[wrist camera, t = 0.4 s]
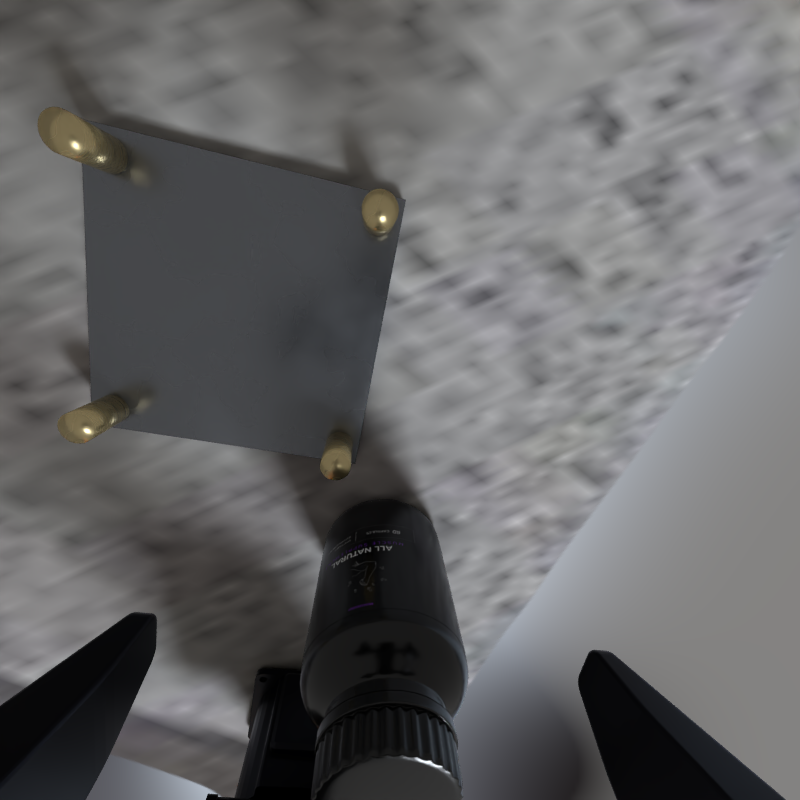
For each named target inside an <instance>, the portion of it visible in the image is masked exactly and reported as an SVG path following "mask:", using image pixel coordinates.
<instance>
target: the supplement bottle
mask: <svg viewBox="0 0 800 800" xmlns="http://www.w3.org/2000/svg"><path fill="white" fill-rule="evenodd" d="M467 684H468V666H467V660H466V655H465V650H464V646H463V641H462V637H461V633H460V629H459V624H458V620H457V616H456V612H455V607H454V603H453V599H452V594H451V590H450V586H449V582H448V577H447V573H446V569H445V565H444V560H443V556H442V552H441V548H440V544H439V540H438V537H437V534H436V531H435V529H434V527H433V525H432V523H431V522H430V520H429V519H428V518H427V517H426V516H425V515H424V514H423V513H422V512H421V511H419V510H418V509H416V508H415V507H413V506H411V505H409V504H407V503H404V502H401V501H396V500H390V499H378V500H371V501H366V502H363V503H360V504H358V505H356V506H354V507H352V508H350V509H349V510H347V511H346V512H344V513H343V514H342V515H341V516H340V517H339V518H338V519H337V520H336V521H335V523H334V524H333V525H332V527H331V529H330V531H329V533H328V536H327V539H326V542H325V547H324V551H323V556H322V561H321V567H320V572H319V577H318V582H317V588H316V593H315V598H314V603H313V609H312V614H311V619H310V624H309V630H308V635H307V640H306V645H305V651H304V656H303V661H302V668H301V676H300V691H301V696H302V701H303V704H304V707H305V710H306V712H307V714H308V716H309V718H310V720H311V721H312V723H313V724H314V726H315V727H316V728H317V729H318V731H317V736H316V744H315V753H314V754H315V766H314V774H313V782H312V791H311V800H462V798H463V788H462V777H461V771H460V765H459V759H458V753H457V750H458V740H457V734H456V729H455V725H454V722H453V720H454V718H455V717H456V715H457V714H458V712H459V710H460V708H461V705H462V703H463V701H464V698H465V694H466V690H467Z"/></svg>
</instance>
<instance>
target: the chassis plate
mask: <svg viewBox="0 0 800 800" xmlns="http://www.w3.org/2000/svg"><path fill="white" fill-rule="evenodd" d="M38 131H39V134H40V136H41V138H42V140H43V142H44V143H45V144H46V145H47V146H48V147H49V148H50V149H51V150H52V151H54V152H56V153H58V154H60V155H63V156H65V157H68V158H70V159H73V160H76V161H78V162H81V163H82V165H83V192H84V219H85V246H86V274H87V301H88V328H89V355H90V383H91V403H88V404H86V405H84V406H82V407H80V408H77V409H75V410H73V411H71V412H68V413H66V414H64V415H62V416H61V417H60V418H59V420H58V424H57V426H58V430H59V432H60V434H61V435H62V436H63V437H64V438H65V439H67V440H68V441H70V442H73V443H85V442H88V441H89V440H91V439H93V438H94V437H96V436H98V435H100V434H101V433H103V432H105V431H106V430H108V429H110V428H111V427H114V428H121V429H128V430H134V431H141V432H148V433H154V434H161V435H168V436H174V437H181V438H188V439H194V440H201V441H208V442H214V443H221V444H228V445H234V446H241V447H248V448H254V449H261V450H268V451H274V452H281V453H288V454H294V455H301V456H307V457H314V458H321V463H320V470H321V472H322V474H323V475H324V476H325V477H326V478H328V479H331V480H340V479H343V478H344V477H346V476H347V475H348V473H349V472H350V467H351V463H354V464H355V461H356V456H357V451H358V446H359V440H360V435H361V430H362V425H363V420H364V414H365V409H366V404H367V399H368V394H369V388H370V383H371V378H372V373H373V368H374V362H375V357H376V352H377V347H378V341H379V336H380V331H381V326H382V321H383V315H384V310H385V305H386V300H387V295H388V289H389V284H390V279H391V274H392V268H393V263H394V258H395V253H396V248H397V242H398V237H399V232H400V227H401V222H402V216H403V211H404V206H405V201H406V200H404V199H400V198H396V197H394V195H393V194H392V193H391V192H389V191H387V190H385V189H375V190H372V191H368V190H364V189H360V188H356V187H352V186H348V185H344V184H340V183H336V182H332V181H328V180H324V179H320V178H316V177H312V176H308V175H304V174H300V173H296V172H292V171H288V170H284V169H280V168H276V167H272V166H268V165H264V164H260V163H256V162H252V161H248V160H244V159H240V158H236V157H232V156H228V155H224V154H220V153H216V152H212V151H208V150H204V149H200V148H196V147H192V146H188V145H184V144H180V143H176V142H172V141H168V140H164V139H160V138H156V137H152V136H148V135H144V134H140V133H136V132H132V131H128V130H124V129H120V128H116V127H112V126H108V125H104V124H100V123H96V122H92V121H88V120H84V119H81V118H79V117H78V116H76V115H74V114H72V113H70V112H68V111H67V110H65V109H62V108H59V107H49V108H47V109H45V110H44V111H42V113H41V114H40V116H39V118H38Z"/></svg>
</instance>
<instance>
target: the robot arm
mask: <svg viewBox="0 0 800 800" xmlns="http://www.w3.org/2000/svg"><path fill="white" fill-rule="evenodd" d="M156 633H157V617H156V615H155V614H152V613H140V612H134V613H131V614H129V615H127V616H126V617H124V618H123V619H122V620H120V621H119V622H117V623H116V624H115V625H113V626H112V627H110V628H109V629H107V630H106V631H105V632H103V633H102V634H100V635H99V636H98V637H96V638H95V639H93V640H92V641H91V642H89V643H88V644H86V645H85V646H84V647H82V648H81V649H79V650H78V651H77V652H75V653H74V654H72V655H71V656H69V657H68V658H67V659H65V660H64V661H62V662H61V663H60V664H58V665H57V666H55V667H54V668H53V669H51V670H50V671H48V672H47V673H46V674H44V675H43V676H41V677H40V678H39V679H37V680H36V681H34V682H33V683H31V684H30V685H29V686H27V687H26V688H24V689H23V690H22V691H20V692H19V693H17V694H16V695H15V696H13V697H12V698H10V699H9V700H8V701H6V702H5V703H3V704H2V705H1V706H0V800H86V798H87V796H88V794H89V793H90V791H91V789H92V787H93V785H94V783H95V782H96V780H97V778H98V776H99V774H100V772H101V770H102V769H103V767H104V765H105V763H106V761H107V759H108V757H109V755H110V753H111V750H112V748H113V746H114V744H115V742H116V740H117V737H118V735H119V733H120V731H121V729H122V726H123V724H124V722H125V720H126V718H127V715H128V713H129V711H130V709H131V707H132V704H133V702H134V700H135V698H136V696H137V693H138V691H139V689H140V687H141V685H142V682H143V680H144V678H145V676H146V673H147V671H148V669H149V667H150V665H151V662H152V660H153V657H154V654H155V650H156ZM300 676H301V671H297V670H284V669H270V668H262V669H260V670H259V671H258V672H257V675H256V679H255V686H254V694H253V701H252V709H251V717H250V725H249V732H248V737H249V739H250V740H249V744H248V748H247V752H246V756H245V759H244V763H243V767H242V771H241V775H240V779H239V783H238V786H237V790H236V794H235V798H229V797H218V794H208V795H207V798H206V800H311V791H312V782H313V774H314V766H315V754H314V753H315V744H316V736H317V731H318V729H317V728H316V727H315V726H314V724H313V723H312V721H311V720H310V718H309V716H308V714H307V712H306V710H305V707H304V704H303V701H302V696H301V691H300ZM578 685H579V690H580V694H581V697H582V700H583V703H584V706H585V709H586V712H587V715H588V718H589V721H590V724H591V727H592V730H593V733H594V736H595V739H596V743H597V746H598V749H599V752H600V755H601V758H602V761H603V763H604V767H605V770H606V772H607V775H608V778H609V781H610V783H611V786H612V788H613V791H614V794H615V796H616V798H617V800H785V799H784V798H783V797H782V796H781V795H780V794H778V793H777V792H776V791H775V790H774V789H773V788H771V787H770V786H769V785H768V784H767V783H765V782H764V781H763V780H762V779H760V777H758V776H757V775H756V774H755V773H754V772H752V771H751V770H750V769H749V768H748V767H746V766H745V765H744V764H743V763H742V762H741V761H739V760H738V759H737V758H736V757H735V756H733V755H732V754H731V753H730V752H729V751H728V750H726V749H725V748H724V747H723V746H722V745H720V744H719V743H718V742H717V741H716V740H715V739H713V738H712V737H711V736H710V735H708V734H707V733H706V732H705V731H704V730H703V729H702V728H700V727H699V726H698V725H696V723H694V722H693V721H692V720H691V719H689V718H688V717H687V716H686V715H685V714H684V713H682V712H681V711H680V710H679V709H678V708H677V707H675V706H674V705H673V704H672V703H671V702H670V701H668V700H667V699H666V698H665V697H664V696H662V695H661V694H660V693H659V692H658V691H657V690H655V689H654V688H653V687H652V686H651V685H649V684H648V683H647V682H646V681H645V680H644V679H642V678H641V677H640V676H639V675H637V674H636V673H635V672H634V671H633V670H631V668H629V667H628V666H627V665H626V664H625V663H623V662H622V661H621V660H620V659H618V658H617V657H616V656H615V655H614V654H613V653H611V652H609V651H601V650H592V651H590V652H589V654H588V656H587V658H586V660H585V663H584V665H583V667H582V670H581V672H580V674H579V678H578Z"/></svg>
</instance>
